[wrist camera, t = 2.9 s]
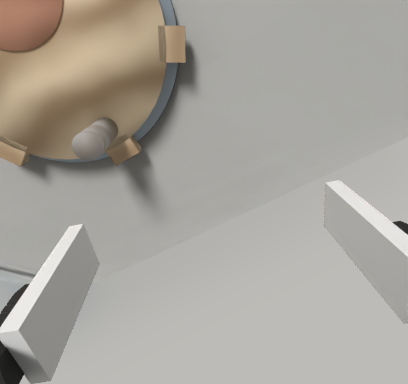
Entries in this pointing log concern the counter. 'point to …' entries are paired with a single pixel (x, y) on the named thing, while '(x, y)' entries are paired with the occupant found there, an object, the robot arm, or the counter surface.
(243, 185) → the counter surface
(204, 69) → the counter surface
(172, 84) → the wheel base
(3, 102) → the index wheel
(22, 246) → the counter surface
